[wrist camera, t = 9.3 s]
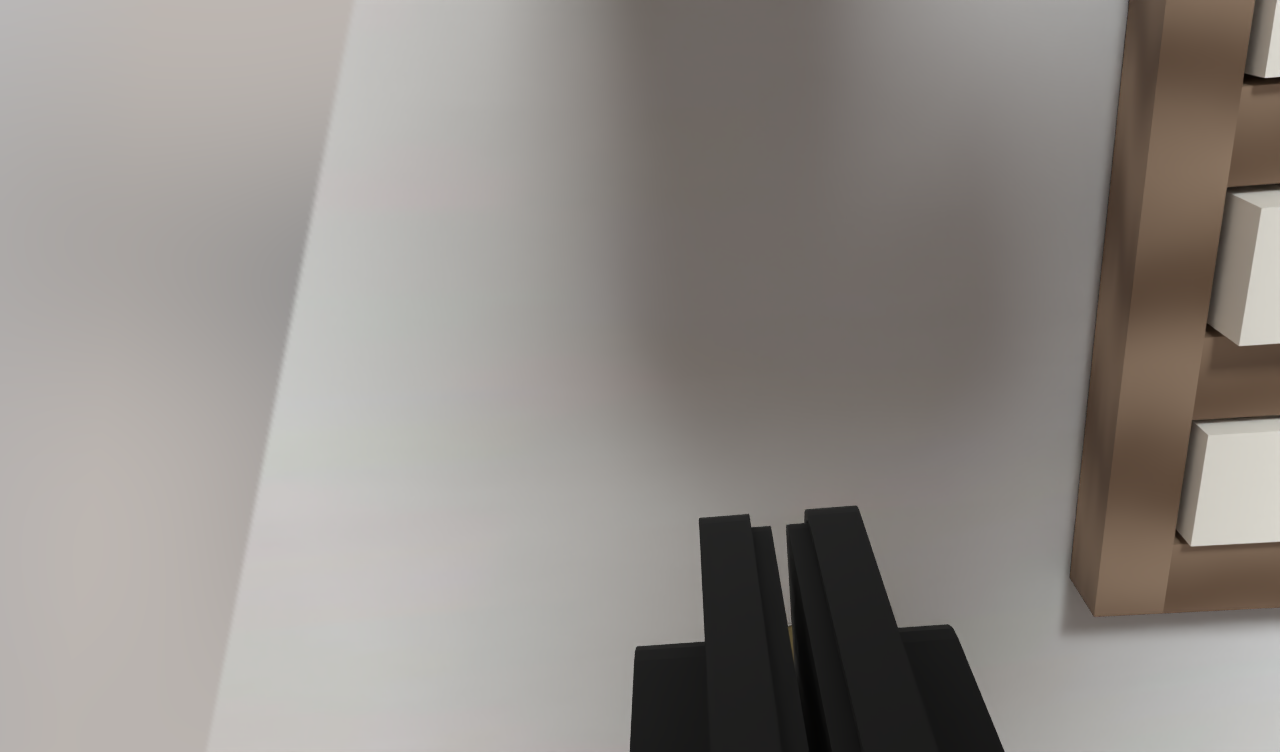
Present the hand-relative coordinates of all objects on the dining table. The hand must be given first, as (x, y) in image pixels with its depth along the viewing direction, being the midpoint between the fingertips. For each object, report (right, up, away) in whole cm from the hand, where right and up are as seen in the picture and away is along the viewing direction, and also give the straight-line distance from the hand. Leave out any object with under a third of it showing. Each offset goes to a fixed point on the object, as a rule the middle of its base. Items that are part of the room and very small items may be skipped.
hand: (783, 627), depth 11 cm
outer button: (+20, 0, +26) cm, 33 cm away
